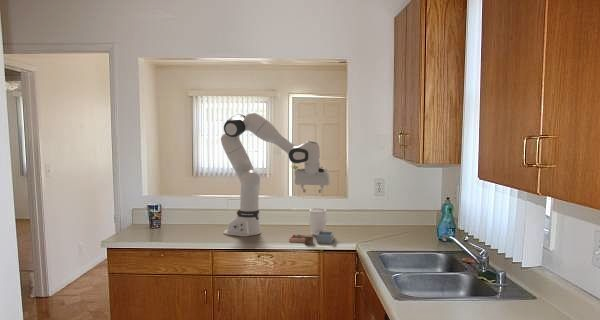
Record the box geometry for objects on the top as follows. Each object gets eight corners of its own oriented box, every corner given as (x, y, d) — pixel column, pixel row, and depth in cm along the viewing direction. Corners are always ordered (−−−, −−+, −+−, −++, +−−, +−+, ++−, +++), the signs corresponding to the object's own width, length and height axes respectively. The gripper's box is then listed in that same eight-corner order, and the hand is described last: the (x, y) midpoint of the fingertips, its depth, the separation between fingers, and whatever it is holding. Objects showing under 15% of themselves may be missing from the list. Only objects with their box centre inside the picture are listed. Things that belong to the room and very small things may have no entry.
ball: (295, 240, 237) (295, 235, 237) (296, 239, 240) (296, 233, 240) (300, 240, 236) (300, 235, 236) (301, 239, 239) (302, 233, 239)
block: (304, 245, 229) (304, 236, 229) (306, 243, 233) (306, 234, 233) (311, 246, 229) (312, 236, 228) (313, 244, 232) (313, 235, 232)
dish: (289, 242, 235) (289, 238, 234) (292, 238, 243) (292, 234, 243) (304, 243, 233) (305, 239, 233) (307, 239, 242) (307, 235, 242)
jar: (324, 236, 248) (325, 211, 247) (307, 235, 250) (307, 210, 249) (327, 232, 258) (327, 208, 257) (310, 231, 260) (310, 207, 259)
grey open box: (316, 243, 233) (316, 234, 233) (319, 239, 241) (319, 231, 241) (331, 244, 231) (331, 235, 231) (333, 240, 239) (333, 232, 239)
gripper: (293, 169, 245) (293, 192, 246) (328, 169, 240) (328, 194, 241) (296, 168, 251) (296, 191, 252) (330, 168, 246) (329, 192, 247)
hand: (312, 192), depth 246 cm, fingers open, 8 cm apart
